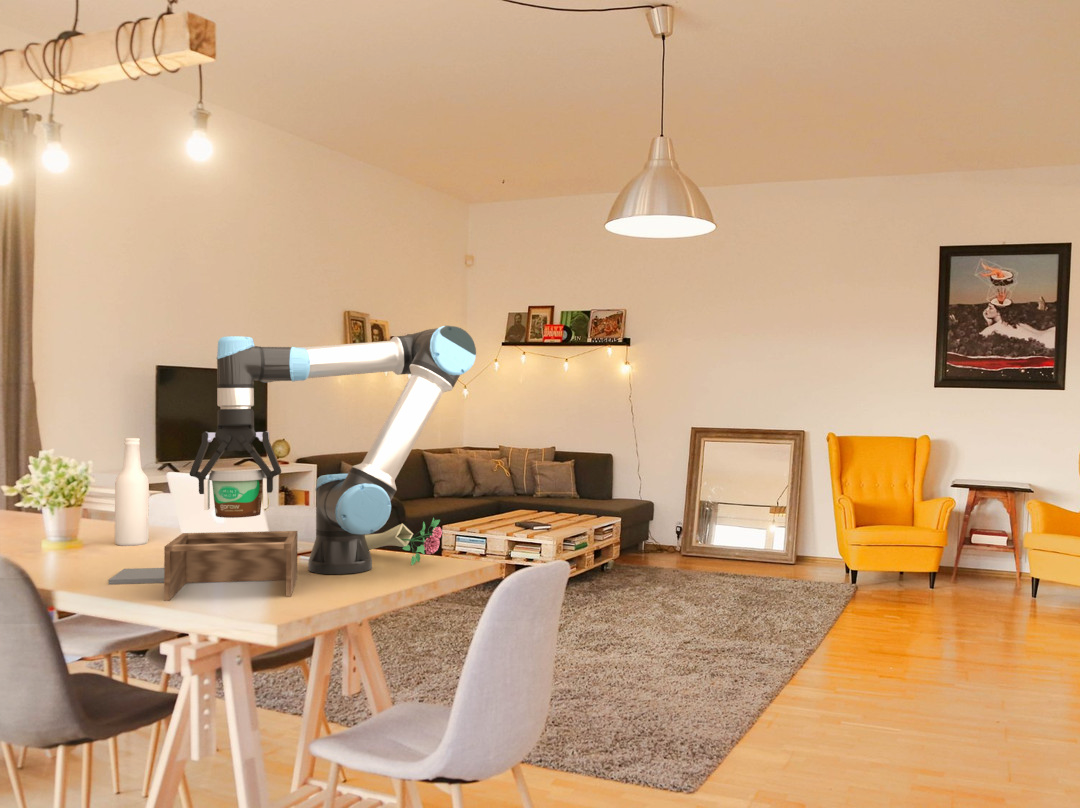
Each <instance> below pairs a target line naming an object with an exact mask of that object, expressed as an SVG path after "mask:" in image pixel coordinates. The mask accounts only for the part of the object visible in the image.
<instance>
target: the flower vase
mask: <svg viewBox="0 0 1080 808" xmlns="http://www.w3.org/2000/svg"><path fill="white" fill-rule="evenodd" d="M440 522H441V519H435V518H434V516H433V518H432V521H431V523H430V526H429V527H428V529H427V533H425V530H426V523H425V521H423V522H422V528H421V530H420V531H419V532H417V533H416V535H418V534H419V533H420V535H419V536H416V535H414V533H413V532H412V531H411V530H410V529H409V528H408V527H407V526H406V525H405V524H404V523H401V524H398V525H396V526H394V527H392V528H390V529H388V530H385V531H384V532H380V533H370V534H365V539H366V542H367V545H368V548H369V551H371V550H374V549H378V548H380V547H381V548H382V547H386V546H393V547H395V546H396V547H401V549H402V550H404V551H408V552H409V551H411V548H412V551H413V553H415V554H412V556H411V561H410V563H411V566H413V565H415V564H416V563H417V562H418V563H420V561H421V554H422V555H425V554H426V555H427V554H428V555H434V554H435V553H436V552H437V551H438V550H439V547H440V545H441V544H440V542H441V541H440V539H441V537H442V534H443V531H442V528H441V527H440V526H438V525H439V523H440ZM431 527H432V529H431V530H430V531H429V529H430V528H431ZM413 535H414V536H413ZM421 538H422V539H421ZM425 538H426V539H425ZM420 539H421V540H420ZM414 542H419V543H420V542H421V543H422V544H420V546H417V545H416V544H414V546H415V547H417V548H416V550H415V548H413V546H410V544H411V545H413V544H412V543H414ZM409 543H410V544H409ZM420 553H421V554H420Z"/></svg>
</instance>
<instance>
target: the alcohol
mask: <svg viewBox="0 0 1080 808" xmlns="http://www.w3.org/2000/svg"><path fill="white" fill-rule="evenodd" d="M140 441H141V439H140V438H138V437H126V438H124V453H123V455H124V456H123V466H122V470H121V472H120V473H119V474H118V475H117V477H116V479H115V482H114V543H115V544H116V545H117V546H121V547H126V546H127V547H130V546H132V547H133V546H143V545H146V544H147V543H148V541H149V540H150V539H149V533H150V532H149V530H150V529H149V525H150V523H149V521H150V519H149V517H150V515H149V511H150V509H149V507H150V505H149V503H150V502H149V501H150V500H149V499H150V495H149V494H150V487H149V486H150V484H149V483H150V482H149V479H148V478H149V477H148V475H147V474H146V473H145V472H144V471H143V469H142V464H141V463H142V462H141V461H142V460H141V449H140V447H141V446H140V444H141V443H140Z"/></svg>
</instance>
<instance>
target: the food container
mask: <svg viewBox="0 0 1080 808" xmlns="http://www.w3.org/2000/svg"><path fill="white" fill-rule="evenodd" d="M208 475H209V476H208V479H209V480H210V481H211V485H212V493H213V494H212V495H213V502H214V510H215V511H214V513H215V516H216V517H217V518H224V519H225V518H226V519H227V518H229V519H231V518H232V519H234V518H237V519H238V518H252V517H257V516H260V515H261V512H262V511H261V510H262V504H263V478H267V476H266V475H265V474H264V472H263V471H262V470H261V469H256V470H254V469H253V470H235V471H234V470H233V471H232V470H224V471H223V470H212V469H211V470H210V472H209V474H208Z"/></svg>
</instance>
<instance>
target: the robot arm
mask: <svg viewBox="0 0 1080 808" xmlns="http://www.w3.org/2000/svg"><path fill="white" fill-rule="evenodd" d="M476 357H477V348H476V344H475V341H474V339H473V336H471V334H469V333H468V331H466V330H465V329H463V328H461V327H459V326H454V325H453V326H452V325H443V326H439V327H437V328H429V329H425V330H422V331H418V332H416V333H415V332H414V333H411V334H406V335H397V336H396V335H395V336H393V337H391V339H390V340H385V341H383V340H382V341H370V342H356V343H354V342H353V343H344V344H342V343H341V344H333V345H332V344H330V345H329V344H328V345H315V346H313V345H312V346H303V347H301V346H300V347H295V346H259V345H255V343H254V339H253V338H252V336H251V337H250V336H241V335H236V336H235V335H233V336H230V335H229V336H222V337H220V338H219V339H218V341H217V356H216V374H217V388H216V390H217V392H216V393H217V399H216V401H217V406H218V407H220V409H218V410H217V411H216V412H217V429H216V431H215V432H208V431H203V432H202V433H201V444H200V446H199V447H198V451H197V453H196V455H195V459H194V461H193V464H192V466H191V468H190V471H189V476H190V477H194V478H196V479H197V480H198V494H199V495H203V511H209V510H210V509H211V506H210V505H211V504H210V502H211V501H210V493H211V492H210V487H211V486H210V485H211V484H210V481H211V480H209V478H207V476H208V475H209V474H210V473H211V470H212V469H213V468H214V467H215V465H216V463H217V462H218V461H219V459H220V458H221V456H222V455H223V454H224V453H225V451H227V452H233V451H237V452H244V451H247V453H248V454H249V455H250V456H251V458H252V460H254V462H255V463H256V465H258V467H259V468H260V470H262V471H263V472H264V474H265V475H266V476H267V478H263V493H262V509H264V510H265V509H268V508H269V498H268V497H269V496H268V495H269V494H268V493H270V494H271V493H273V491H274V477H277V476H279V475H281V473H282V468H281V466H280V464H279V462H278V460H277V459H278V458H277V456H276V454H275V452H274V449H273V447H272V445H271V441H270V432H269V431H267V430H266V431H256V429H255V410H254V409H253V408H252V407H254V406H255V397H254V396H255V392H254V391H255V388H254V386H255V382H254V381H257V382H258V381H259V382H262V383H264V384H265V383H273V382H299V381H300V382H302V381H303V382H304V381H306V380H307V379H315V378H316V379H317V378H328V377H330V378H331V377H340V376H341V377H342V376H351V375H352V376H353V375H362V374H376V373H388V372H393V373H394V374H395V375H397V376H399V375H410V377H409V379H408V381H407V383H406V385H405V386H404V388H403V390H402V391H401V393H400V395H399V397H398V399H397V400H396V402H395V404H394V406H393V407H392V409H391V411H390V412H389V415H388V416H387V418H386V420H385V421H384V423H383V424H382V427H381V429H380V431H379V433H378V434H377V435H376V438H375V439H374V441H373V443H372V444H371V447H370V448H369V450H368V451H367V453H366V455H365V456H364V458H363V460H362V462H360V463H358V464H355V465H352V466H351V468H350V470H349V471H348V472H347V473H334V474H333V473H332V474H325V475H320V476H319V477H317V479H316V484H315V485H316V487H315V499H316V500H315V501H316V502H315V510H316V511H315V528H316V529H315V531H316V532H315V539H314V540H315V541H314V543H313V546H312V550H311V553H310V555H309V558H308V562H307V563H308V571H309V572H311V573H315V574H321V575H322V574H323V575H346V574H347V575H348V574H356V573H357V574H359V573H364V572H368V571H370V570H372V568H373V558H372V556H371V550H369V548H368V545H367V542H366V539H365V535H369V534H374V533H375V532H378V531H379V530H380V529H381V528H383V527H384V526H385V525H386V523H387V521H388V520H389V518H390V515H391V513H392V512H391V511H392V502H391V501H392V499H393V497H394V496H395V494H396V492H397V490H398V489H397V486H396V482H395V480H396V479H397V478H398V475H399V473H400V471H401V469H402V468H403V465H405V462H406V461H407V459H408V457H409V455H410V453H411V452H412V449H413V448H414V446H415V444H416V442H417V441H418V439H419V437H420V435H421V434H422V432H423V430H424V428H425V426H426V424H427V423H428V421H429V420H430V418H431V415H432V413H433V412H434V410H435V409H436V407H437V404H438V403H439V400H440V399H441V398H442V395H444V394H445V393H447V392H451V391H453V389H454V387H455V385H456V384H457V383H458V380H459V378H460V376H461V375H464V374H465V373H467V372H468V371H470V370H471V368H472V367H473V366H474V365H475V362H476ZM214 438H215V439H216V440H217V442H218V443H219V446H218V447H217V449H216V451H215V452H214V453H213V455H212V456H211V458H210V459H209V460H208V461H207V463H206V465H205V466H204V467H203V468H202V470H201V471H199V470H200V467H201V464H203V461H204V458H205V455H206V453H207V450H208V448H209V446H210V443H212V441H213V440H214ZM256 438H257V439H258V441H260V442H262V446H263V447H264V450H265V453H266V455H267V457H268V459H269V462H270V465H271V467H272V470H271V469H270V468H269V466H268V465H267V463H266V462H265V460H264V459H263V458H262V456H261V455H260V454H259V453H258V450H256V447H254V445H253V442H254V440H255V439H256Z"/></svg>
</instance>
